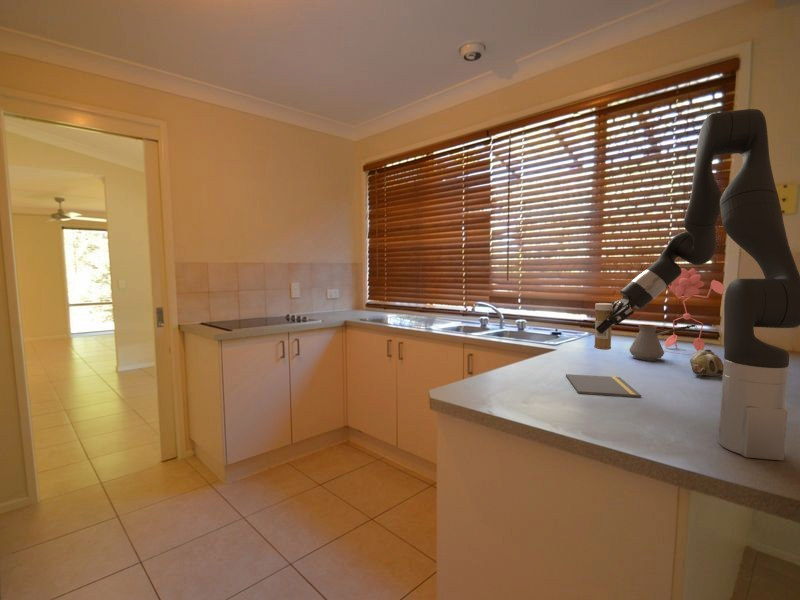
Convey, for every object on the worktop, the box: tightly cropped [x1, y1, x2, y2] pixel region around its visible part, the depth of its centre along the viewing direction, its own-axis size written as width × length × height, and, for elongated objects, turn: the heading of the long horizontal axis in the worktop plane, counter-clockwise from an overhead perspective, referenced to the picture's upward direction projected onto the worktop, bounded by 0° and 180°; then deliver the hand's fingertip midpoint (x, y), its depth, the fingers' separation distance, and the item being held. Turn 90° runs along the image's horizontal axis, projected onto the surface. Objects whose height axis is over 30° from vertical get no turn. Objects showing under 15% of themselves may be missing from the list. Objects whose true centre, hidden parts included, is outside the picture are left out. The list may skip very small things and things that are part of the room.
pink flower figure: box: [664, 267, 725, 356], centre depth 164 cm, size 15×26×35 cm, turn 31°
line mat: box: [565, 373, 642, 398], centre depth 118 cm, size 18×16×1 cm
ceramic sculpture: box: [689, 349, 724, 377], centre depth 130 cm, size 11×9×15 cm
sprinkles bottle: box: [593, 302, 613, 351], centre depth 116 cm, size 5×5×13 cm
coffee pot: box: [628, 324, 698, 362], centre depth 148 cm, size 21×12×15 cm, turn 40°
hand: (596, 329), depth 117 cm, fingers closed on sprinkles bottle, 4 cm apart
